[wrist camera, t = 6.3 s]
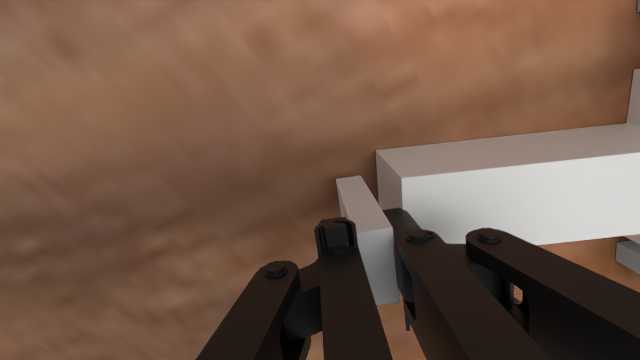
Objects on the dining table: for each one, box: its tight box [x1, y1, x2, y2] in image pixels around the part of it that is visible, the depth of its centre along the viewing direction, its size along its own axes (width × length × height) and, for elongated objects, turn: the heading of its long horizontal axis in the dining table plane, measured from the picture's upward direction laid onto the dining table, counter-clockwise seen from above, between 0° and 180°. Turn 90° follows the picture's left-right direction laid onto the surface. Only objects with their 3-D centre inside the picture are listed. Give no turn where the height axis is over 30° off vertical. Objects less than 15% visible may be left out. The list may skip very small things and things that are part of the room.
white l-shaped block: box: [375, 69, 640, 245], centre depth 17 cm, size 16×9×6 cm, turn 96°
